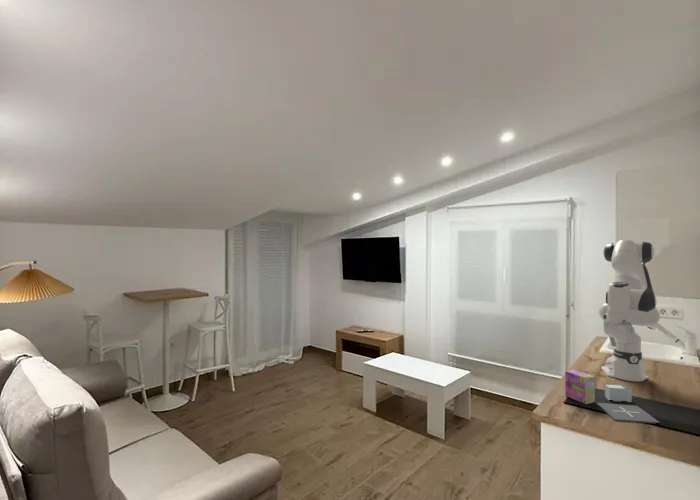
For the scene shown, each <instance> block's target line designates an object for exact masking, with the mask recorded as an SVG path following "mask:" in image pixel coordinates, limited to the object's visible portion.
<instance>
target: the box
mask: <svg viewBox="0 0 700 500" xmlns="http://www.w3.org/2000/svg"><path fill="white" fill-rule="evenodd" d="M564 374H565V375H564V376H565V377H564V378H565V379H564V380H565V383H564V384H565V386H564V388H565V390H564V391H565V394H564V395H565V397H567V398H571V399H572V400H575V401H577V402H579V403H582V404H584V405H588V404H589V405H590V404H593V402H594V403H595V399H596V398H595V397H596V396H595V394H596V392H595V388H596V387H595V386H596V385H595V384H596V383H595V382H596V380H595V379H596V378H595V376H594V375H592V374H588V373H585V372H582V371H578V370H576V369H569V370H565V372H564Z"/></svg>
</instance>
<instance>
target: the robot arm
mask: <svg viewBox="0 0 700 500" xmlns="http://www.w3.org/2000/svg"><path fill="white" fill-rule="evenodd" d="M602 255H603V257H604V260H605V261H607V262H611V267H612V268H613V270H614V271H615V272H616V281H614V282H611V283H609V286H608V290H607V291H606V292H605V302H604V303H603V304H601V305H600V307H599V309H598V314H599V317H600V319H601V320H603V333H604V334H605V335H606V336H608V337H609V342H610V346H612V347H614V348H613V353H612V355H611V356H610V357H608V358H606V361H605V364H604V366H603V365H602V366H601V367H600V368H601V370H602V371H603V372H604V373H605V374H606V376H607V377H609V378H610V377H611V378H615V379H619V380H623V381H628V382H629V381H630V382H644V381H645V380H648V379H649V376H648V375H646V368H645V366H646V365H645V362H644V361H643V352H642V338H641V336H640V335H639V334H638V333H636V331H635V327H634V326H639V327H640V326H641V327H646V326H647V327H648V326H656V325H657V324H658V323H659V322H660V318H661V315H660V312H659V310H658V309H657V308H656V306H657V303H658V301H657V296H656V294H655V292H654V289H653V286H652V281H651V277H650V274H649V270H648V268H647V266H646V264H647V263H649V262H651V261H652V260H653V259H654V255H655V248H654V246H653V244H652V243H650V242H647V241H633V240H630V239H621V240H619V241H617V242H615V243H614V242H610V243H607V244H605V245H604V247H603V250H602Z"/></svg>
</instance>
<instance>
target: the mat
mask: <svg viewBox="0 0 700 500" xmlns="http://www.w3.org/2000/svg"><path fill="white" fill-rule="evenodd" d="M595 405H597V406H598V405H599V406H600V407H601V408H602V409H603V410H604V413H605V414H607V416H609V417H610V418H611V419H612V420H613V421H617V422H628V423H629V422H630V423H632V422H633V423H643V424H656V423H660V424H661V422H660V421H659V420H657V419H656V418H655V417H653V416H652V415H651V414H649V413H648V412H646V411H645V410H644V409H642V408H641V407H640V406H638V405H637V404H625V403H623V404H622V403H608V402H607V403H606V402H596V403H595ZM599 406H598V407H599ZM600 407H599V408H600ZM601 408H600V409H601ZM602 409H601V410H602ZM603 410H602V411H603Z"/></svg>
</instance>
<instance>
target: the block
mask: <svg viewBox="0 0 700 500" xmlns="http://www.w3.org/2000/svg"><path fill="white" fill-rule="evenodd" d="M632 393H633V388H631V387H630V386H628V384H627V385H626V384H625V385H623V384H620V385H619V384H605V385H604V398H605V397H606V398H605V399H606V400H608V401H609V400H613V401H612V402H621V401H627V402H626V403H632V402H633V401H632V396H633V394H632Z"/></svg>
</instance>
